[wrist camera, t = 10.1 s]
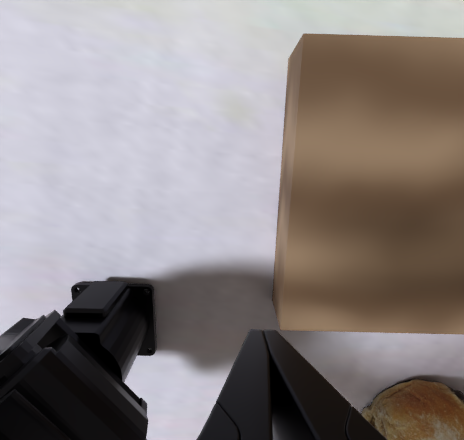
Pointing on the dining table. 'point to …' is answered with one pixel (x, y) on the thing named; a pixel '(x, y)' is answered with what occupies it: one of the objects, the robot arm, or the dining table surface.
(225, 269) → the dining table surface
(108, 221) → the dining table surface
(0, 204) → the dining table surface
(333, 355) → the dining table surface
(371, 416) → the bread roll
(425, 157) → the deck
